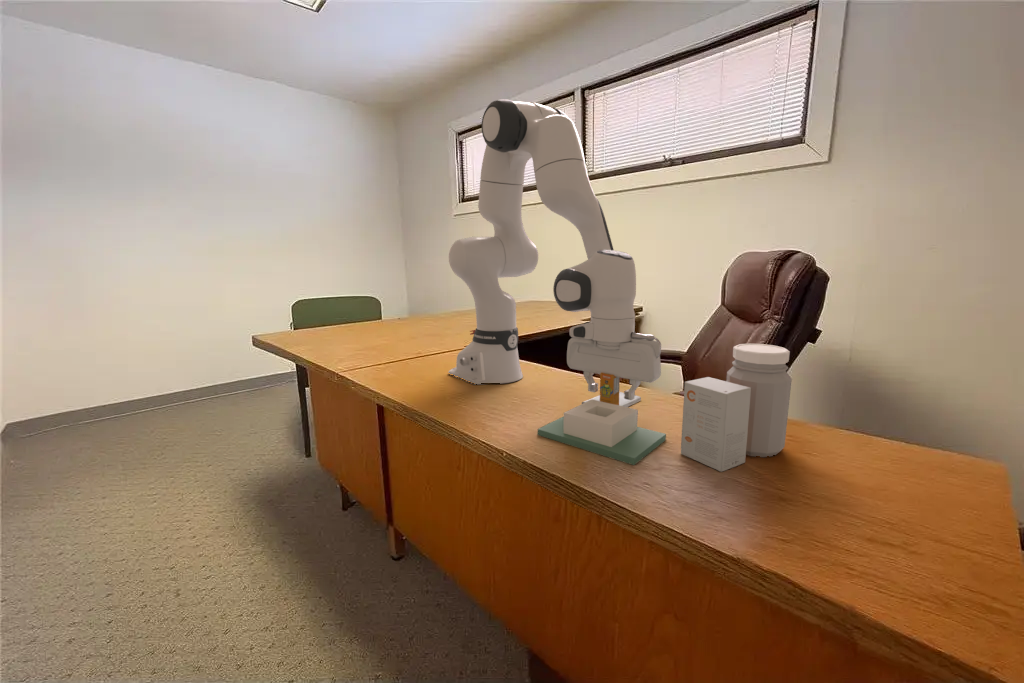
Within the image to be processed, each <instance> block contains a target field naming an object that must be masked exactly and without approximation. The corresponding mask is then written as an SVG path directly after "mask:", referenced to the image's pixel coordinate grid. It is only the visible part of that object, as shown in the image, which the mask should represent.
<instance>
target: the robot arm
mask: <svg viewBox="0 0 1024 683" xmlns="http://www.w3.org/2000/svg"><path fill="white" fill-rule="evenodd" d="M482 115H483V116H482V119H481V134H482V137H483V140H484V142H485V144H486V145H485V149H484V153H483V156H482V157H483V159H482V162H481V169H480V176H479V177H480V178H479V179H480V180H479V191H478V194H479V195H478V205H477V207H478V212H479V213H480V215H481V217H482V218H484V219H485V220H486V221H487V222H488V223H490V224H492V225H493V230H494V234H493V236H469V237H464V238H461V239H457V240H455V241H454V242H453V244H452V245H451V247H450V250H449V253H448V262H449V266H450V268H451V270H452V272H453V273H454V274H455V275H456V276H457V277H459V279H461V280H462V281H463V282H464V283H465V285H467V287H468V289H469V290H470V292H471V294H472V297H473V300H474V307H475V318H476V328H475V329H472V330H469V332H471V333H469V335H470V336H473V337H472V341H471V342H470V343H468V345H466V346H465V347H464V348H463V349H462V350H460V351H459V352H458V353H457V355H456V366H455V367H453V368H451V369H449V370H448V373H450V374H453V375H455V376H458V377H460V378H463V379H465V380H467V381H470V382H472V383H475V384H474V385H476V384H477V385H482V384H481V383H500V384H509V383H513V382H516V381H520V380H521V379H523V377H524V375H523V372H522V368H521V362H520V357H519V356H520V354H519V350H518V342H519V328H518V327H517V302H516V300H515V298H514V297H513V296H512V295H511V294H509V293H508V292H506V291H504V290H502V288H501V285H500V283H499V279H502V278H517V277H521V276H525V275H528V274H531V273H533V272H534V270H535V269H536V267H537V265H538V262H539V251H538V248H537V246H536V244H535V243H534V242H533V241H532V239H530V238H529V236H528V234H527V232H526V231H525V227H524V224H523V219H522V218H523V217H522V206H523V192H524V182H525V170H526V165H527V163H528V162H529V160H531V159H532V165H533V172H534V179H535V186H536V189H537V190H536V191H537V193H538V195H539V199H540V200H541V202H542V204H543V205H544V206H545V207H546V208H547V209H548V210H550V211H551V212H553V213H555V214H557V215H558V216H561V217H562V218H564V219H566V220H567V221H568V222H570V223H571V224H573V226H574V227H575V228H576V229H577V231H578V232H579V234H580V236H581V239H582V242H583V247H584V250H585V253H586V257H587V259H586V260H585V261H583V262H581V263H579V264H576V265H574V266H570V267H568V268H564V269H563V270H560V271H559V273H558V274H557V276H556V277H555V279H554V282H553V288H552V289H553V292H552V293H553V297H554V300H555V302H556V304H557V305H558V306H559V308H561V309H562V310H563V311H565V312H570V313H571V312H572V313H573V312H574V313H578V312H587V311H590V321H587V322H584V323H581V324H578V325H575V326H572V327H570V328H569V337H571V338H570V339H569V340H568V342H567V350H566V364H567V366H568V367H569V369H572V370H577V371H582V372H583V377H584V379H585V381H586V383H587V390H588V392H589V393H590V392H591V393H596V392H598V390H599V382H596V381H595V379H594V377H593V375H594V374H599V375H600V373H607V374H612V375H614V376H615V377H620V379H625V380H629V385H631V386H630V388H628V389H627V390H624V392H623V393H624V394H625V396H624V398H625V399H628V400H633V399H634V397H635V395H636V393H635V392H636V390H637V389H638V387H639V386H640V384H642V383H641V382H645V383H649V384H650V383H654V382H656V381H657V380H658V379H659V378H660V377H661V374H662V367H661V366H662V364H661V353H662V343H661V340H660V339H659V338H657V337H656V336H655V335H653V334H650V333H649V334H643V333H638V332H637V333H636V331H635V328H636V327H635V326H636V322H635V321H636V313H635V310H634V309H635V308H634V302H635V299H636V296H637V273H636V272H637V271H636V264H635V260H634V258H633V256H632V255H631V254H629V253H627V252H624V251H619V250H615V249H614V246H613V242H612V239H611V235H610V231H609V227H608V225H607V221H606V218H605V214H604V211H603V208H602V205H601V203H600V201H599V199H598V198H597V196H596V194H595V192H594V190H593V187H592V185H591V181H590V178H589V174H588V170H587V165H586V161H585V160H586V159H585V155H584V149H583V146H582V142H581V139H580V136H579V133H578V130H577V128H576V125H575V123H574V122H573V120H572V119H571V118H570V117H569V116H568V115H567V114H566V113H565V112H563V111H562V110H561V109H558V108H557V107H556V108H555V107H550V106H546V105H543V104H540V103H537V102H532V101H530V102H528V101H527V102H525V101H519V100H518V101H517V100H516V101H513V100H511V99H507V98H506V99H498V100H493V101H492V102H490V103H489V104H488V105H487V107H486V109H485V110H484V112H483V114H482ZM467 381H466V382H467ZM472 383H471V384H472Z"/></svg>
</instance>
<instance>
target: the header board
mask: <svg viewBox="0 0 1024 683" xmlns="http://www.w3.org/2000/svg"><path fill="white" fill-rule="evenodd" d="M590 399H591V400H589V399H588V400H589V401H587V402H585V403H583V404H582V403H581V404H579V405H577V406H575V407H573V408H570V409H569V410H567V411H564V412H563V416H561V417H559V418H557V419H555V420H553V421H551V422H549V423H547V424H545V425H543V426H541V427H539V428H538V429H537V436H540V437H543V438H545V439H549V440H552V441H556V442H559V443H563V444H565V445H568V446H572V447H575V448H578V449H581V450H584V451H588V452H591V453H593V454H597V455H601V456H603V457H607V458H609V459H614V460H617V461H620V462H623V463H626V464H629V465H631V466H635V465H636V464H638V463H639V462H641V460H642V459H643V458H645V457H646V456H648V455H649V454H650V453H651V452H652V451H654V450H655V449H657V447H660V445H662V444H663V443H664V442H665V441H667V433H664V432H661V431H656V430H653V429H648V428H644V427H640V426H638V417H639V416H638V415H639V413H638V412H639V410H638V409H636V408H632V407H623V406H619V405H615V404H610V403H606V402H601V401H597V400H592V398H590Z"/></svg>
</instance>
